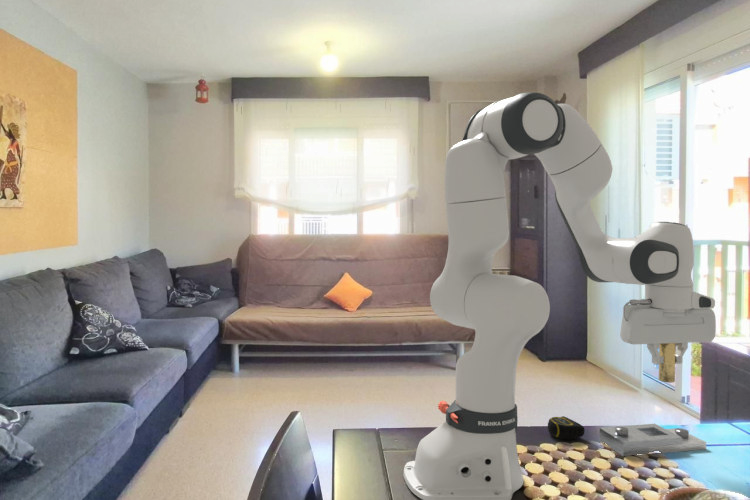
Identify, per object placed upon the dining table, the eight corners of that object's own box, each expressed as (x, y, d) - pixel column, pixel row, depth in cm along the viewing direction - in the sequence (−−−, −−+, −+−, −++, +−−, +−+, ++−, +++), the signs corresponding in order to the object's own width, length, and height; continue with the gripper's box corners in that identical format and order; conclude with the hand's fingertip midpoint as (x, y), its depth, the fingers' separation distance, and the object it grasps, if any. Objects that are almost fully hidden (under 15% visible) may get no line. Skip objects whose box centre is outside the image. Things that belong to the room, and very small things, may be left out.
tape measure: (586, 440, 113) (586, 424, 113) (560, 444, 111) (560, 427, 111) (565, 429, 120) (566, 414, 120) (541, 432, 118) (541, 417, 118)
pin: (665, 382, 105) (666, 335, 105) (655, 378, 108) (656, 332, 108) (678, 382, 106) (679, 334, 105) (667, 378, 109) (668, 332, 108)
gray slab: (623, 456, 105) (623, 436, 105) (599, 441, 113) (599, 422, 113) (706, 449, 108) (706, 429, 108) (677, 434, 116) (677, 416, 116)
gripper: (634, 301, 102) (632, 369, 102) (722, 299, 105) (720, 365, 105) (614, 297, 108) (613, 361, 108) (698, 296, 111) (696, 358, 112)
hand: (666, 363), depth 107 cm, fingers closed on pin, 3 cm apart
